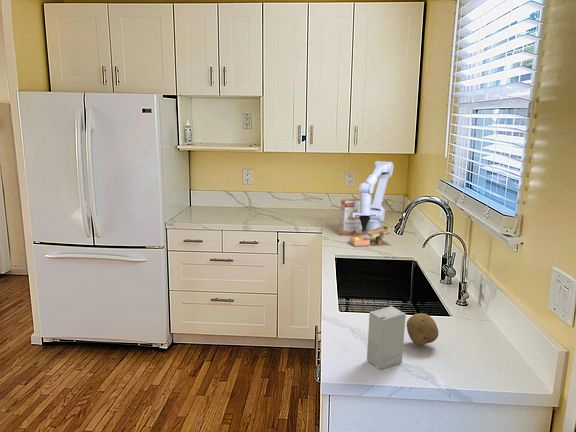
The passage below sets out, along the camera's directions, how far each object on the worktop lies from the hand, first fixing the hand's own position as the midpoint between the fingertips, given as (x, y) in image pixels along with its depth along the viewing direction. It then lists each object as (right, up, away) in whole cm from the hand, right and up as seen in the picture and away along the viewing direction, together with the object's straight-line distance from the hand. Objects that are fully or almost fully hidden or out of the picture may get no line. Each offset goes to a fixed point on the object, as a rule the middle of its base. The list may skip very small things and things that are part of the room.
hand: (363, 229), depth 256 cm
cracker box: (-4, -4, +16) cm, 17 cm away
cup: (-4, -8, -9) cm, 12 cm away
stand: (+2, -9, -7) cm, 11 cm away
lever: (+6, -2, -4) cm, 7 cm away
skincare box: (-15, -33, -128) cm, 133 cm away
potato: (-2, -31, -118) cm, 122 cm away
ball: (-5, -5, -10) cm, 12 cm away
